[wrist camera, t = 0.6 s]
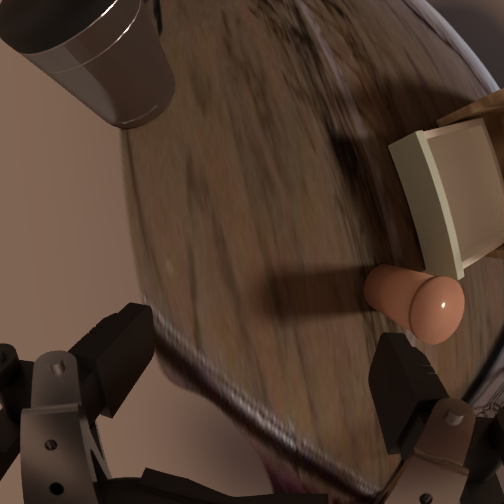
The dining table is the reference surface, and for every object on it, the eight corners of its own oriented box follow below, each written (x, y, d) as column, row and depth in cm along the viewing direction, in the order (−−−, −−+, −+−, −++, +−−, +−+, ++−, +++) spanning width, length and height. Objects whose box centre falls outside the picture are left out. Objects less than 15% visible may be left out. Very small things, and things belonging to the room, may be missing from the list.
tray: (387, 145, 30) (415, 131, 24) (462, 126, 30) (490, 114, 24) (426, 272, 31) (458, 280, 25) (493, 234, 31) (524, 235, 25)
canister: (355, 273, 31) (407, 294, 20) (398, 254, 31) (459, 266, 20) (368, 319, 32) (418, 355, 21) (409, 299, 32) (467, 325, 21)
